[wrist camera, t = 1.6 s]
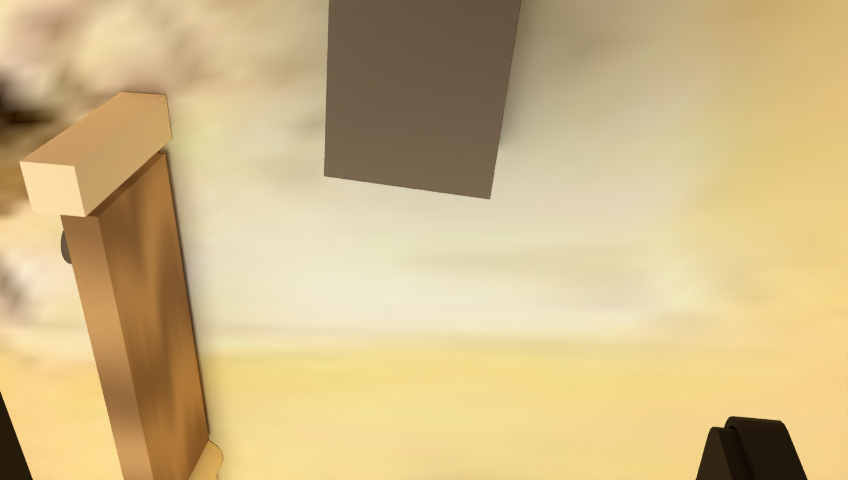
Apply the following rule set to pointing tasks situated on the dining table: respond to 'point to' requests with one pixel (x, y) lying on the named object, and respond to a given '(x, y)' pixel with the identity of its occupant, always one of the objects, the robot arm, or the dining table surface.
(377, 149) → the doorstop
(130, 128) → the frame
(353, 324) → the dining table surface
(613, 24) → the dining table surface
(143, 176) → the door
